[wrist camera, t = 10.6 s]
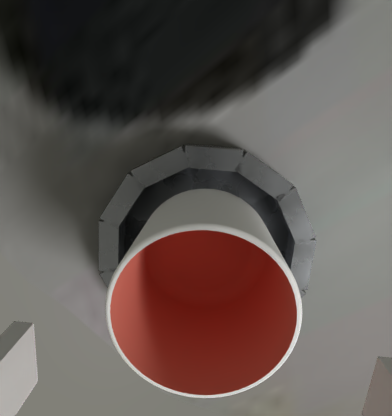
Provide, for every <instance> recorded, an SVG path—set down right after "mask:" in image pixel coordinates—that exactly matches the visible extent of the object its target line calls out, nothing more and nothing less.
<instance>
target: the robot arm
mask: <svg viewBox="0 0 392 416" xmlns="http://www.w3.org/2000/svg"><path fill="white" fill-rule="evenodd" d="M36 361H37V360H36V347H35V334H34V323H27V322H16V321H14V322H13V323H12V324H11V325H10V326H9V327H8V328H7V329H6V330H5V331H4V332H3V333H2V334H1V335H0V416H15V415H16V414H17V412H18V410H19V409H20V408H21V406H22V404H23V403H24V401H25V400H26V398H27V397H28V395H29V394H30V392H31V391H32V389H33V388H34V386H35V385H36V383H37V382H38V373H37V362H36ZM362 415H363V416H392V358H389V357H378V358H377V362H376V365H375V369H374V372H373V376H372V379H371V383H370V386H369V390H368V394H367V397H366V401H365V404H364V408H363V411H362Z"/></svg>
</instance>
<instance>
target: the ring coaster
mask: <svg viewBox="0 0 392 416" xmlns="http://www.w3.org/2000/svg"><path fill="white" fill-rule="evenodd" d="M194 189H216V190H221V191H225V192H228V193H231V194H233V195H235V196H237V197H239V198H241V199H242V200H244V201H245V202H246V203H248V204H249V205H250V206H251V207H252V208H253V209H254V210H255V211H256V212H257V213H258V214H259V216H260V217H261V219H262V220H263V222H264V224H265V226H266V227H267V229H268V231H269V233H270V235H271V236H272V238H273V240H274V242H275V244H276V245H277V247H278V249H279V251H280V253H281V254H282V256H283V258H284V260H285V261H286V263H287V265H288V267H289V269H290V270H291V272H292V274H293V276H294V278H295V280H296V283H297V285H298V288H299V292H300V296H301V298H302V297H303V296H304V294H305V291H304V290H307V289H308V283H309V278H310V272H311V267H312V262H313V256H314V251H315V245H316V240H315V237H316V236H315V233H314V231H313V228H312V226H311V223H310V221H309V219H308V216H307V214H306V211H305V209H304V206H303V204H302V201H301V199H300V197H299V194H298V192H297V189H296V187H294V186H293V184H292V183H290V182H289V181H288V180H286V179H285V178H283V177H282V176H281V175H279V174H278V173H276V172H275V171H274V170H272V169H271V168H269V167H268V166H267V165H265V164H264V163H262V162H261V161H260V160H258V159H257V158H255V157H254V156H253V155H251V154H250V153H248V152H247V151H245V150H244V151H243V150H242V149H241V148H231V147H220V146H206V145H194V144H187V145H185V147H184V145H182V146H180V147H178V148H176V149H174V150H172V151H170V152H167V153H165V154H163V155H161V156H159V157H157V158H155V159H153V160H151V161H149V162H147V163H145V164H143V165H141V166H139V167H137V168H135V169H133V170H132V171H131V172H130V173H128V174H127V175H126V177H125V179H124V180H123V182H122V183H121V185H120V187H119V188H118V190H117V191H116V193H115V194H114V196H113V198H112V199H111V201H110V202H109V204H108V206H107V207H106V209H105V210H104V212H103V214H102V215H101V217H100V219H101V220H100V221H99V271H102V272H101V273H100V276H101V277H102V279H103V281H104V282H105V284H106V286H107V287H109V284H110V281H111V278H112V276H113V274H114V272H115V270H116V268H117V267H118V265H119V264H120V262H121V260H122V259H123V257H124V256H125V254H126V253H127V251H128V250H129V248H130V247H131V245H132V244H133V242H134V241H135V239H136V238H137V236H138V235H139V233H140V232H141V230H142V228H143V227H144V225H145V224H146V222H147V221H148V219H149V218H150V216H151V215H152V214H153V212H154V211H155V210H156V209H157V208H158V207H159V206H160V205H161V204H162V203H164V202H165V201H166V200H168V199H170V198H171V197H173V196H175V195H177V194H179V193H182V192H185V191H188V190H194Z"/></svg>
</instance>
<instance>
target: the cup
mask: <svg viewBox="0 0 392 416" xmlns="http://www.w3.org/2000/svg"><path fill="white" fill-rule="evenodd" d="M105 312H106V321H107V326H108V330H109V333H110V336H111V339H112V341H113V343H114V345H115V347H116V349H117V351H118V352H119V354H120V355H121V357H122V358H123V359H124V361H125V362H126V363H127V364H128V365H129V366H130V367H131V368H132V369H133V370H134V371H135V372H136V373H137V374H138V375H140V376H141V377H142V378H144V379H145V380H147V381H148V382H150V383H152V384H153V385H155V386H157V387H159V388H161V389H164V390H166V391H169V392H172V393H175V394H179V395H183V396H188V397H199V398H216V397H223V396H229V395H233V394H237V393H240V392H243V391H245V390H248V389H250V388H252V387H254V386H256V385H258V384H259V383H261V382H263V381H264V380H266V379H267V378H268V377H270V376H271V375H272V374H273V373H274V372H276V371H277V370H278V369H279V368H280V367H281V365H282V364H283V363H284V362H285V361H286V359H287V358H288V356H289V355H290V353H291V352H292V350H293V348H294V346H295V344H296V341H297V339H298V336H299V332H300V328H301V322H302V302H301V296H300V292H299V288H298V285H297V283H296V280H295V278H294V276H293V274H292V272H291V270H290V269H289V267H288V265H287V263H286V261H285V260H284V258H283V256H282V254H281V253H280V251H279V249H278V247H277V245H276V244H275V242H274V240H273V238H272V236H271V235H270V233H269V231H268V229H267V227H266V226H265V224H264V222H263V220H262V219H261V217H260V216H259V214H258V213H257V212H256V211H255V210H254V209H253V208H252V207H251V206H250V205H249V204H248V203H246V202H245V201H244V200H242V199H241V198H239V197H237V196H235V195H233V194H231V193H228V192H225V191H221V190H216V189H194V190H188V191H185V192H182V193H179V194H177V195H175V196H173V197H171V198H170V199H168V200H166V201H165V202H164V203H162V204H161V205H160V206H159V207H158V208H157V209H156V210H155V211H154V212H153V214H152V215H151V216H150V218H149V219H148V221H147V222H146V224H145V225H144V227H143V228H142V230H141V232H140V233H139V235H138V236H137V238H136V239H135V241H134V242H133V244H132V245H131V247H130V248H129V250H128V251H127V253H126V254H125V256H124V257H123V259H122V260H121V262H120V264H119V265H118V267H117V268H116V270H115V272H114V274H113V276H112V278H111V281H110V284H109V287H108V290H107V296H106V307H105Z"/></svg>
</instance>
